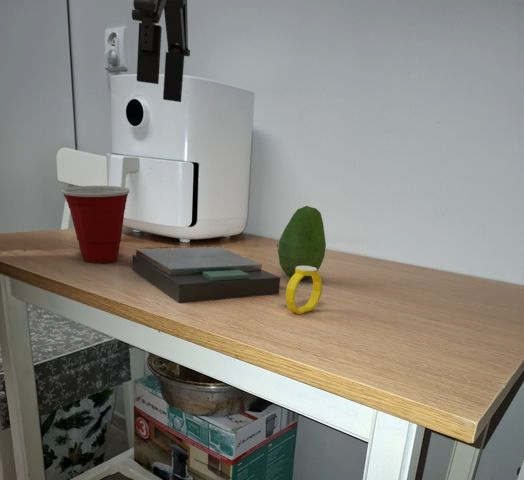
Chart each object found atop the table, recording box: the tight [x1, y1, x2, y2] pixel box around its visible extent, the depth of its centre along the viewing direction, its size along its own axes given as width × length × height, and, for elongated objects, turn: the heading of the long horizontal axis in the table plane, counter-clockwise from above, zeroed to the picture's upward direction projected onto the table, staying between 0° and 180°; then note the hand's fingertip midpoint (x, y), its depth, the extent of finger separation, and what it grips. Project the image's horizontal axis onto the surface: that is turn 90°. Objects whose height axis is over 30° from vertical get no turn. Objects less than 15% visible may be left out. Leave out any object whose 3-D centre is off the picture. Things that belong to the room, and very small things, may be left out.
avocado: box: [277, 205, 327, 281], centre depth 81 cm, size 8×8×12 cm
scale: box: [131, 246, 281, 304], centre depth 75 cm, size 19×16×4 cm
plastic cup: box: [60, 185, 131, 264], centre depth 81 cm, size 11×11×12 cm
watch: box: [284, 266, 323, 315], centre depth 64 cm, size 6×3×6 cm, turn 136°
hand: (160, 92), depth 70 cm, fingers open, 13 cm apart
